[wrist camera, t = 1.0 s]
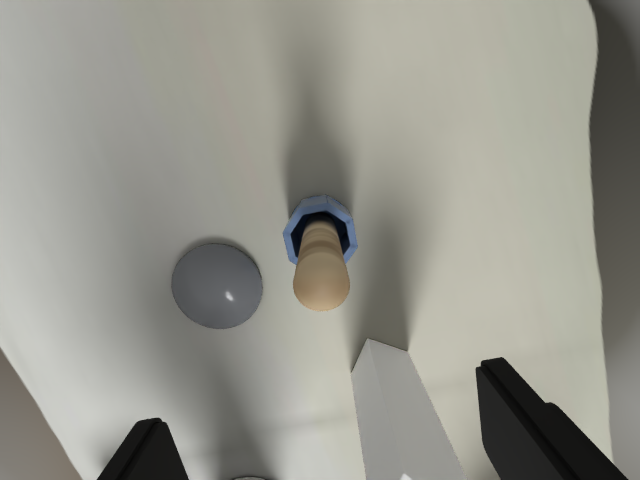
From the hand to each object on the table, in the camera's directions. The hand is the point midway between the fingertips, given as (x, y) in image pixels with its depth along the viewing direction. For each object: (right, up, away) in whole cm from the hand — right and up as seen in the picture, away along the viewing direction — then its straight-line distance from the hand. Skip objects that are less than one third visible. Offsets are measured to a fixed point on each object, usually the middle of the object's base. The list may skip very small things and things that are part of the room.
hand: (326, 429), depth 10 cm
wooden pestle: (0, +7, +28) cm, 29 cm away
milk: (+8, -11, +34) cm, 37 cm away
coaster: (-13, 0, +31) cm, 34 cm away
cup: (0, +7, +29) cm, 30 cm away
